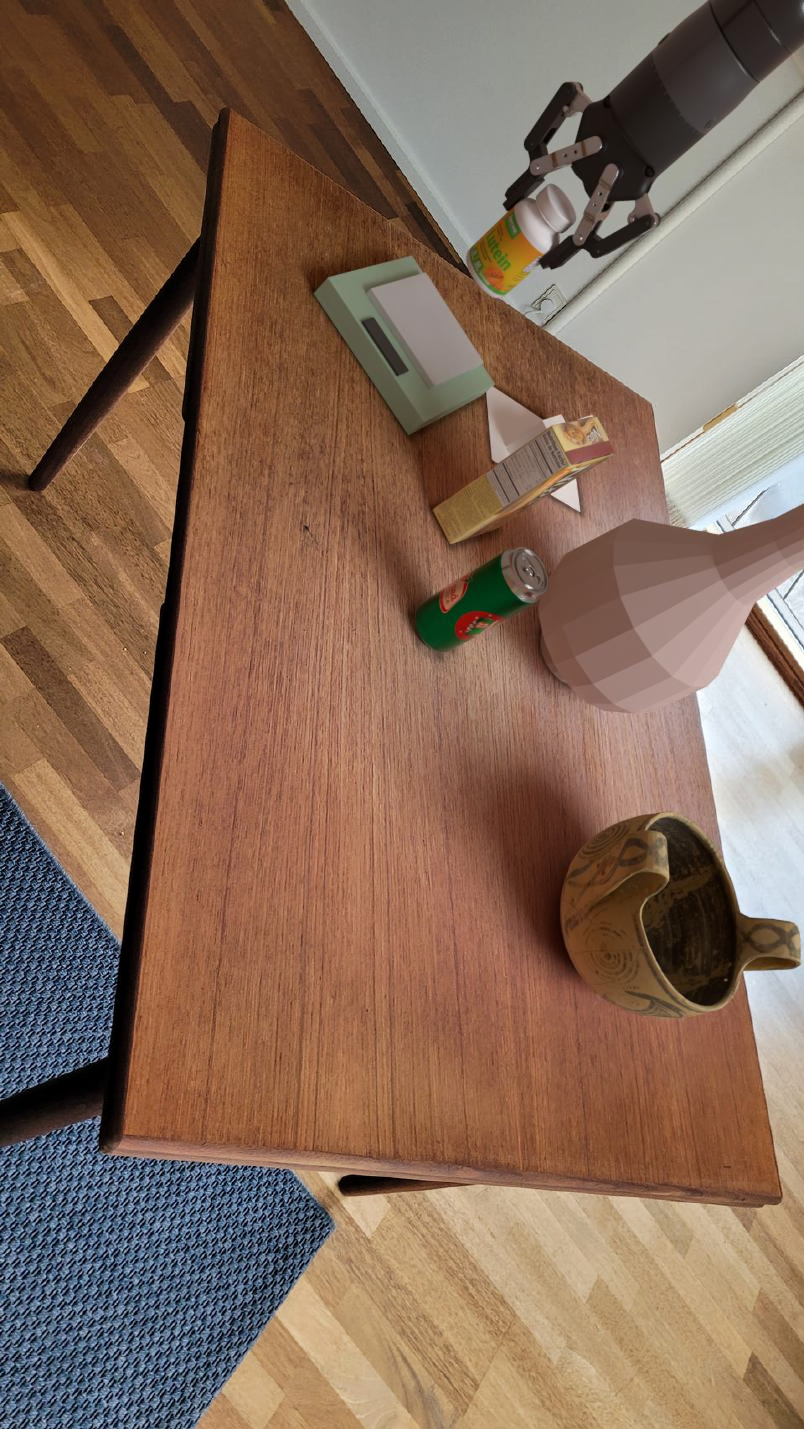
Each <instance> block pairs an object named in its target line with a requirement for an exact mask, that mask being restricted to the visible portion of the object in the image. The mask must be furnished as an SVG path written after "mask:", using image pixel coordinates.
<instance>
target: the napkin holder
mask: <svg viewBox="0 0 804 1429" xmlns="http://www.w3.org/2000/svg"><path fill="white" fill-rule="evenodd" d="M485 393H486V405H487V417H488V430H489V442H490V454H491V461H493V462H495V463H496V464H498V463H499V462H501V461H502V460H503V459H505V458H506V457H508V456H509V455H511V454H512V453H513V452H515V451H516V450H518V449H519V448H521V447H522V446H523V445H525V444H526V443H528V442H529V441H531V440H532V439H533V438H535V437H536V436H538V435H539V434H540V433H542V432H543V431H545V430H546V429H547V428H549V427H550V426H551V425H556V424H561V423H566V422H567V421H566V420H565V418H564V417H563V415H562V414H558V415H554V416H552V417H547V418H545V419H542V418H541V417H539V415H536V414H535V413H533V412H532V411H530V410H529V409H528V408H526V407H525V406H523V405H521V404H520V403H518V402H517V401H516V400H514V399H512V398H511V397H509V396H508V395H506V394H505V393H504V392H502V391H500V390H499V389H497V388H496V387H495V386H492V387H491V388H490V389H489V390H488V391H486V392H485ZM588 417H595V416H594V415H593V414H589V415H587V416H584V417H581V418H578V419H577V420H580V419H584V418H588ZM578 490H579V489H578V483H577V478H576V479H574V480H573V481H571V482H570V483H568V484H566V485H565V486H563V487H561V488H560V489H558V490H557V491H555V492H553V493H552V494H550V495H549V496H552V497H553V498H555V499H557V500H559V501H560V502H562V503H564V504H566V505H567V506H569V507H571V508H572V509H574V510H575V511H577V512H579V513H581V507H580V505H581V504H580V500H579V498H580V497H579V491H578Z"/></svg>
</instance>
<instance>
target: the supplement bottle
mask: <svg viewBox="0 0 804 1429" xmlns="http://www.w3.org/2000/svg"><path fill="white" fill-rule="evenodd" d="M576 222H577V213H576V210H575V207H574V205H573V203H572V202H571V200H570V198H569V197H568V196H567V194H566V193H565V192H564V191H563V190H562V189H561V188H560V187H559V186H557V185H556V184H555V183H547V184H546V185H545V187H543V188H542V189H541V190H540V191H539V192H538V193H537V195H536V196H535V198H532V197H527V198H524V199H522V200H520V201H519V202H518V203H516V204H515V205H514V206H513V207H512V208H511V209H510V210H509V211H506V213H505V214H503V216H502V217H501V218H500V219H499V220H498V221H496V222H495V224H493V226H491V227H490V228H489V229H488V230H487V231H486V232H485V233H484V234H483V235H482V236H481V237H480V238H479V239H478V240H477V241H476V242H475V243H474V244H473V245H472V246H470V248H469V249H468V250H467V252H466V254H465V263H466V267H467V270H468V272H469V274H470V275H471V278H472V280H474V282H475V283H476V285H477V286H478V287H479V288H480V289H481V290H482V291H483V292H484V293H485V294H486V295H489V297H491V298H494V299H502V298H504V297H505V296H506V295H508V294H509V293H510V292H511V291H512V290H514V288H515V287H517V286H518V285H519V284H520V283H522V281H523V280H525V279H526V278H527V277H528V276H529V275H530V274H531V273H532V272H534V271H535V270H536V269H537V268H538V267H539V266H541V265H540V264H539V262H540V261H541V260H542V259H543V258H544V257H545V256H546V255H548V254H549V253H550V252H551V251H552V250H553V249H554V248H555V247H557V246H558V245H559V244H560V243H561V236H560V234H564V233H565V232H567V231H568V230H569V229H571V227H572V226H573V225H575V223H576Z"/></svg>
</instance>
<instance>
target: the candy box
mask: <svg viewBox="0 0 804 1429" xmlns="http://www.w3.org/2000/svg"><path fill="white" fill-rule="evenodd" d="M583 418H584V417H583ZM579 419H580V420H578V419H574V420H571V421H565V422H566V423H561V424H556V425H551V426H550V427H549V428H547V429H546V430H545V431H543V432H542V433H540V434H539V435H538V436H536V437H535V438H533V439H532V440H531V441H529V442H528V443H526V444H525V445H523V446H522V447H521V448H519V449H518V450H516V451H515V452H513V453H512V454H511V455H509V456H508V457H506V458H505V459H503V460H502V461H501V462H499V463H496V464H495V465H494V466H492V467H490V468H489V469H488V470H487V471H485V472H483V473H482V474H481V475H480V476H478V477H476V478H475V479H473V480H472V481H470V482H469V483H468V484H467V485H465V486H463V487H462V488H461V489H459V490H458V491H456V492H455V493H454V494H452V495H450V496H449V497H448V498H446V499H445V500H443V501H442V502H441V503H439V504H438V505H437V506H435V507H434V508H433V509H432V513H433V514H434V517H435V519H436V520H437V522H438V524H439V526H440V528H441V530H442V532H443V533H444V536H445V537H446V540H447V542H448V543H449V544H450V545H452V544H455V543H459V542H462V541H465V540H468V539H471V538H474V537H477V536H481V535H483V534H486V533H488V532H491V531H495V530H497V529H498V528H500V527H502V526H504V525H505V524H506V523H508V522H510V521H511V520H513V519H514V518H515V517H518V516H519V515H520V514H522V513H523V512H525V511H527V510H528V509H530V508H532V507H533V506H535V505H537V504H538V503H540V502H541V501H542V500H544V499H545V498H547V497H549V496H551V495H550V494H552V493H553V492H555V491H557V490H558V489H560V488H561V487H563V486H565V485H566V484H568V483H570V482H571V481H573V480H574V479H576V480H577V478H579V477H581V476H582V475H585V473H587V472H589V471H590V470H591V469H593V468H595V467H596V466H599V465H600V464H601V463H603V462H604V461H606V460H607V459H609V458H610V457H612V456H613V455H615V450H614V448H613V445H612V444H611V441H610V440H609V437H608V435H607V432H606V430H605V429H604V427H603V426H602V424H601V423H602V422H601V421H600V420H599V418H598V416H596V415H595V416H594V417H588V418H584V419H581V418H579Z"/></svg>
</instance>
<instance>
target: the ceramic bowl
mask: <svg viewBox="0 0 804 1429" xmlns="http://www.w3.org/2000/svg"><path fill="white" fill-rule="evenodd" d="M559 903H560V904H559V905H560V906H559V920H560V921H559V922H560V928H561V935H562V940H563V942H564V943H563V944H564V946H565V948H566V951H567V954H568V956H569V959H570V961H571V963H572V965H573V967H574V969H575V971H576V972H577V973H578V975H579V976H580V978H581V979H582V980H583V981H584V983H585V984H586V985H587V986H589V987H590V989H591V990H592V991H593V992H595V994H597V995H598V996H599V997H601V998H602V999H604V1000H605V1001H606V1002H607V1003H609V1004H611V1005H612V1006H614V1007H615V1008H618V1009H620V1010H622V1011H625V1012H626V1013H630V1014H632V1015H633V1014H634V1015H636V1016H640V1017H646V1018H651V1019H673V1020H675V1019H676V1020H677V1019H678V1020H680V1019H685V1018H690V1017H696V1016H700V1015H705V1014H707V1013H711V1012H716V1011H719V1010H721V1009H723V1008H724V1007H726V1006H727V1005H728V1004H729V1003H730V1002H731V1000H732V999H733V998H734V997H735V994H736V992H737V991H738V988H739V986H740V983H741V977H742V974H743V972H767V971H788V970H789V971H791V970H795V969H797V968H798V967H800V966H801V965H802V951H801V950H802V948H801V947H802V945H801V944H802V941H801V933H800V929H799V926H798V925H797V924H796V923H795V922H793V921H789V920H785V919H784V920H782V919H777V918H768V917H767V918H766V917H750V916H749V915H747V914H744V913H743V912H741V909H740V904H739V900H738V897H737V893H736V889H735V885H734V882H733V880H732V878H731V875H730V873H729V870H728V868H727V866H726V863H725V862H724V859H723V857H722V855H721V853H720V851H719V850H718V848H717V847H716V845H715V843H714V842H713V840H712V839H711V838H710V837H709V836H708V835H707V833H706V832H705V830H704V829H703V828H702V827H701V826H700V825H699V824H698V823H697V822H695V821H694V820H693V819H692V818H690V817H689V816H687V815H686V814H683V813H681V812H678V811H673V810H670V811H669V810H667V811H661V812H653V813H646V814H640V815H637V816H633V817H630V818H627V819H623V820H621V821H618V822H615V823H614V824H612V825H610V826H608V827H606V828H604V829H602V830H601V831H599V832H598V833H597V834H595V835H594V836H592V837H591V838H590V839H589V840H587V842H586V843H584V844H583V846H582V847H580V849H579V850H578V851H577V853H576V855H575V856H574V858H573V859H572V860H571V863H570V864H569V867H568V869H567V872H566V875H565V878H564V881H563V885H562V889H561V895H560V901H559Z"/></svg>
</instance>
